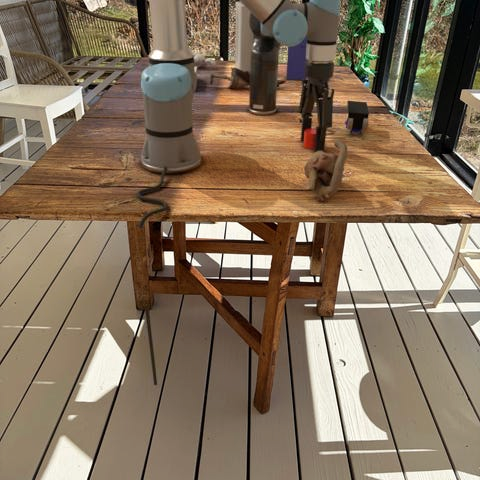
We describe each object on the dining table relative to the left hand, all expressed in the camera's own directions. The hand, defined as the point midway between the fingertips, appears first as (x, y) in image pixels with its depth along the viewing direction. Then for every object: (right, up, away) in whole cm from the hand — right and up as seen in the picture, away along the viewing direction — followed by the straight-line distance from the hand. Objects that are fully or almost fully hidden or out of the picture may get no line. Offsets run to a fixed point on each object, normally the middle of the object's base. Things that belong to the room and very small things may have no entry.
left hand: (312, 145), depth 135 cm
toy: (-46, +55, +91) cm, 116 cm away
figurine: (-17, +34, +57) cm, 69 cm away
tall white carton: (-14, +50, +82) cm, 97 cm away
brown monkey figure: (-1, -15, -25) cm, 29 cm away
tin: (0, 0, 0) cm, 0 cm away
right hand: (+20, +52, +18) cm, 59 cm away
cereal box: (+8, +43, +72) cm, 84 cm away
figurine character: (+15, +7, +13) cm, 21 cm away
